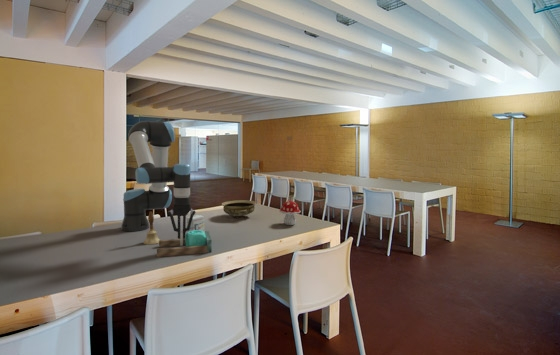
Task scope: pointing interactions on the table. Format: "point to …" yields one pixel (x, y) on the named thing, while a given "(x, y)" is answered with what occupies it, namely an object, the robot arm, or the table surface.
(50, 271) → the table surface
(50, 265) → the table surface
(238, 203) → the ceramic bowl
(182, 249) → the channel
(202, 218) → the ink box
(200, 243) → the decorative dice
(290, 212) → the decorative mushroom
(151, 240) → the hand bell
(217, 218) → the table surface
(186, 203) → the robot arm
